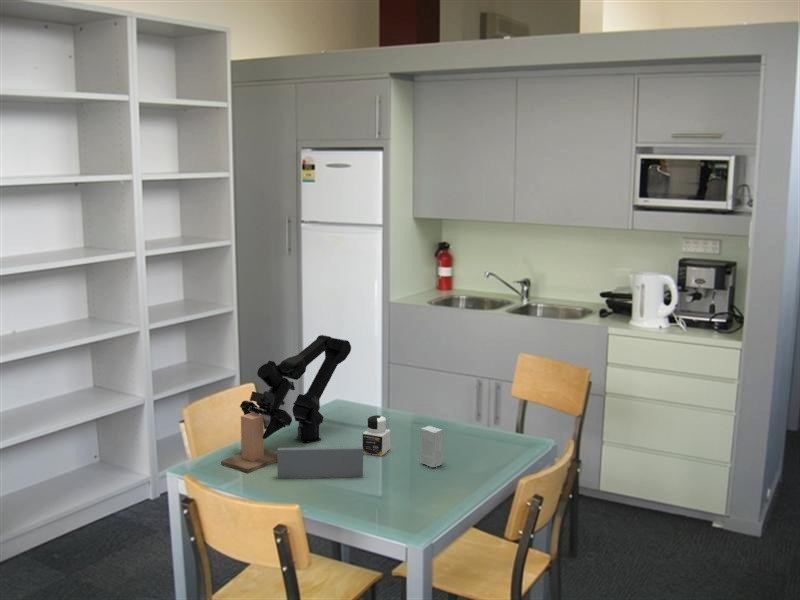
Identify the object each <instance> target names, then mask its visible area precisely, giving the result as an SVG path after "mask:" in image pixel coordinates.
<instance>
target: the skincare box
mask: <svg viewBox="0 0 800 600" xmlns="http://www.w3.org/2000/svg"><path fill="white" fill-rule="evenodd" d="M443 433H444V431H443V429H441V428H438V427H435V426H431V425H427V426H424V427H421V428H420V458H419V460H420V461H419V462H422V463H426V464H428V465H431V466H436V465H437V464H439V463H442V464H443V442H444V440H443V438H444V437H443Z"/></svg>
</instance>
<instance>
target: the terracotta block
mask: <svg viewBox="0 0 800 600" xmlns="http://www.w3.org/2000/svg"><path fill="white" fill-rule="evenodd" d="M264 425H265V424H264V415H262V414H257V413H253V412H252V413H249V414H246V415H244V414H243V415H240V447H241V449H240V450H241V457H242V458H243V459H246V460H249V461H252V462H253V461H256V460H258V459H261V458H263V457H264V449H265V447H264V446H265V445H264V444H265V439H263V438H262V437H263V435H264V433H265V430H264Z"/></svg>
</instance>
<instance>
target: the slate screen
mask: <svg viewBox="0 0 800 600" xmlns="http://www.w3.org/2000/svg"><path fill="white" fill-rule="evenodd" d="M276 453H277V463H276V464H277V479H314V478H315V479H317V478H318V479H319V478H325V477H326V478H362V477H361V476H363V477H364V453H363V446H325V447H324V446H322V447H320V446H318V447H316V446H315V447H309V446H308V447H277V451H276Z"/></svg>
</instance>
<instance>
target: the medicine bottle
mask: <svg viewBox="0 0 800 600" xmlns="http://www.w3.org/2000/svg"><path fill="white" fill-rule="evenodd" d="M386 425H387V418H386V417H385V416H382V415H379V414H378V415H377V414H376V415H371V416H369V417H368V418H367V430H365V431H364V432H363V433H362V447H363V454H365V455H366V454H367V455H371V454H372V456H377V455H380V456H379V457H383V456H384V455H385V454H386V453H388V452H389V451H390V450H391V429H387V426H386ZM389 449H390V450H389ZM388 450H389V451H388ZM387 451H388V452H387ZM382 455H383V456H382Z"/></svg>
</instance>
